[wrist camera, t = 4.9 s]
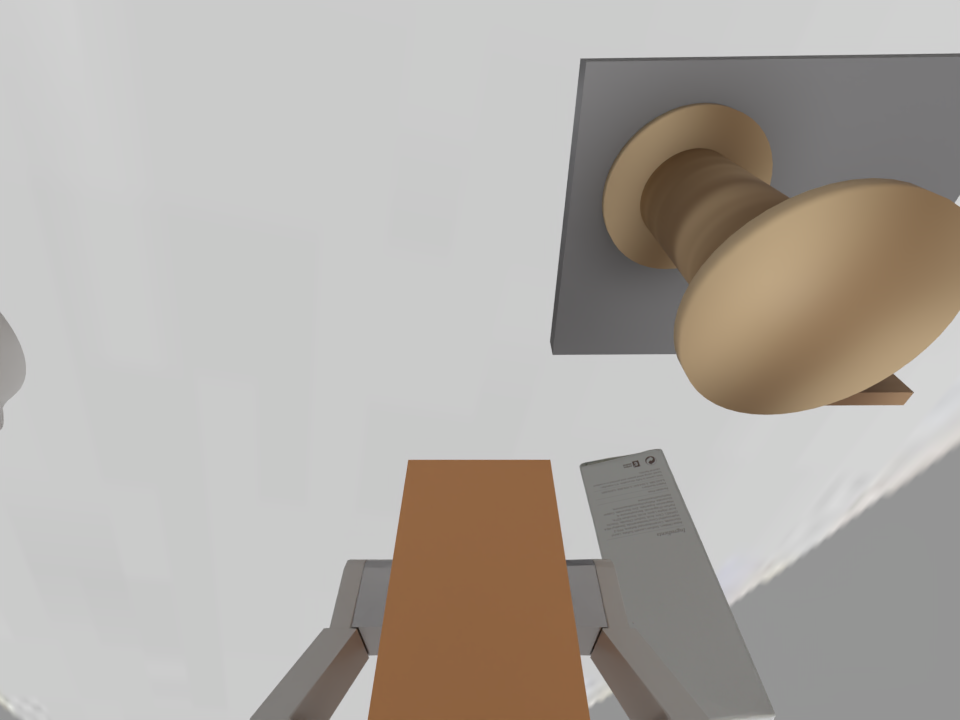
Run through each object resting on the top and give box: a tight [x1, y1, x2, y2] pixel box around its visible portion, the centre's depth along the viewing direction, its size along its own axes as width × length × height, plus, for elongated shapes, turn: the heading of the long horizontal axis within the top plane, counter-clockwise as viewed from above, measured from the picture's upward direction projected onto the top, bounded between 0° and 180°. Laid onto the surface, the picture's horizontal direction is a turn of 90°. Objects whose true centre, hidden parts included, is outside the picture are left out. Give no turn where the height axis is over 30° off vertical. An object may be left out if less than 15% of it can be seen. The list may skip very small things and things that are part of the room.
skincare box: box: [579, 449, 776, 720], centre depth 27 cm, size 8×6×15 cm
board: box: [550, 53, 960, 355], centre depth 20 cm, size 16×13×1 cm
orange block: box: [368, 460, 590, 720], centre depth 11 cm, size 4×4×7 cm
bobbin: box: [602, 103, 960, 415], centre depth 15 cm, size 6×6×10 cm
